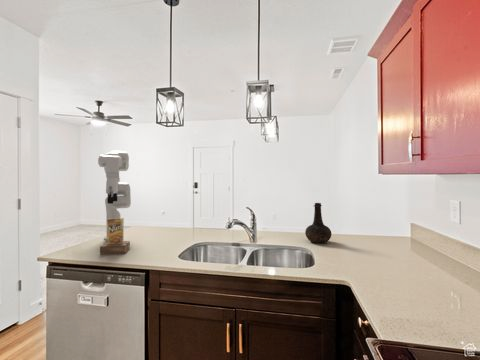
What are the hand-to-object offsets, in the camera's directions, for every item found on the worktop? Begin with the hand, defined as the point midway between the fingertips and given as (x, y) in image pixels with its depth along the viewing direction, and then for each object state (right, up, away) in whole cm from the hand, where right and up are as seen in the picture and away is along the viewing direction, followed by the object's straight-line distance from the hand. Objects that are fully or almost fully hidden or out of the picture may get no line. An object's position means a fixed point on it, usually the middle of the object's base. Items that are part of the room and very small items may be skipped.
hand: (112, 202), depth 177 cm
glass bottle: (+137, -30, +22) cm, 142 cm away
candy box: (+4, -25, -6) cm, 26 cm away
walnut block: (+5, -30, -6) cm, 31 cm away
